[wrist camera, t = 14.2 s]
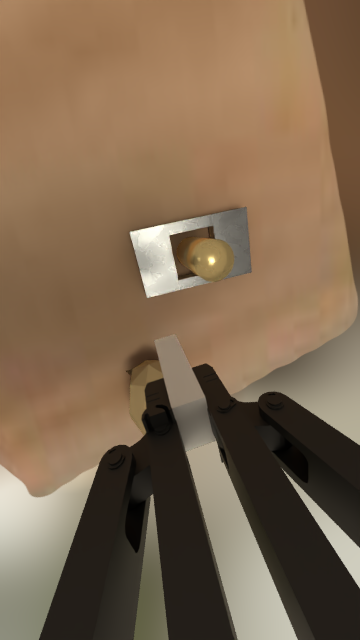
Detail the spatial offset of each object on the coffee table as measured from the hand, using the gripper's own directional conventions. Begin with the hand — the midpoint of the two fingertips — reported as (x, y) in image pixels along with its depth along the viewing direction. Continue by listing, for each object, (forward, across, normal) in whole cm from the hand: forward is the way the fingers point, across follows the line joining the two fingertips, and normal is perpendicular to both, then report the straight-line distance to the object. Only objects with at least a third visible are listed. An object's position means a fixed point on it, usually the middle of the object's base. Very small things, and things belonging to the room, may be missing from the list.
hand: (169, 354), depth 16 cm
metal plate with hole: (+21, +8, +3) cm, 22 cm away
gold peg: (+21, +8, +3) cm, 22 cm away
